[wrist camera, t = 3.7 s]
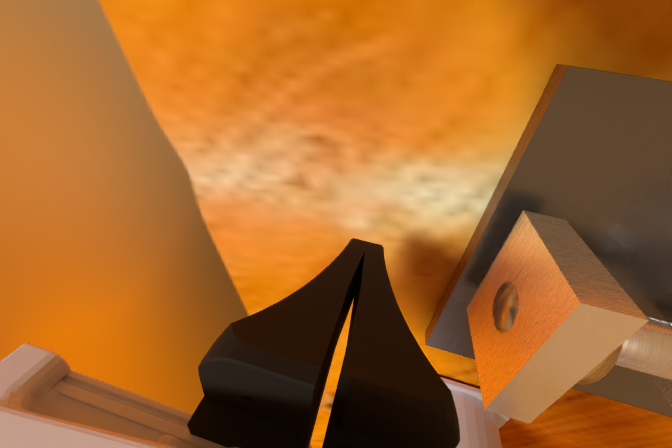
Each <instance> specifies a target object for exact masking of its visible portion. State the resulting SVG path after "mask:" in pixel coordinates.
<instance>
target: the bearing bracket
mask: <svg viewBox="0 0 672 448" xmlns="http://www.w3.org/2000/svg"><path fill="white" fill-rule="evenodd" d="M523 210H524V211H528V212H533V213H538V214H542V215H547V216H551V217H556V218H560V219H565V220H566V221H567V222H568V223H569V224H570V225H571V227H572V228H573V229H574V230H575V231H576V233H577V234H578V235H579V236H580V238H581V239H582V240H583V241H584V242H585V244H586V245H587V246H588V247H589V248H590V250H591V251H592V252H593V253H594V254H595V256H596V257H597V258H598V259H599V260H600V262H601V263H602V264H603V265H604V267H605V268H606V269H607V270H608V271H609V273H610V274H611V275H612V276H613V277H614V279H615V280H616V281H617V282H618V283H619V285H620V286H621V287H622V288H623V290H624V291H625V292H626V293H627V294H628V296H629V297H630V298H631V299H632V300H633V302H634V303H635V304H636V305H637V306H638V308H639V309H640V310H641V311H642V313H643V314H644V315H645V316H648V317H652V318H656V319H660V320H664V321H668V322H671V323H672V82H671V81H664V80H657V79H651V78H644V77H638V76H631V75H625V74H618V73H612V72H605V71H599V70H592V69H586V68H579V67H573V66H566V65H560V64H557V65H556V67H555V69H554V71H553V73H552V75H551V77H550V80H549V82H548V84H547V86H546V88H545V90H544V92H543V94H542V96H541V98H540V100H539V102H538V104H537V106H536V108H535V110H534V112H533V114H532V116H531V118H530V120H529V122H528V124H527V126H526V128H525V130H524V132H523V134H522V137H521V139H520V141H519V143H518V145H517V147H516V149H515V151H514V153H513V155H512V157H511V159H510V161H509V163H508V165H507V167H506V169H505V171H504V173H503V175H502V177H501V179H500V181H499V183H498V185H497V187H496V189H495V191H494V193H493V196H492V198H491V200H490V202H489V204H488V206H487V208H486V210H485V212H484V214H483V216H482V218H481V220H480V222H479V224H478V226H477V228H476V230H475V232H474V234H473V236H472V238H471V240H470V242H469V244H468V246H467V248H466V250H465V252H464V255H463V257H462V259H461V261H460V263H459V265H458V267H457V269H456V271H455V273H454V275H453V277H452V279H451V281H450V283H449V285H448V287H447V289H446V291H445V293H444V295H443V297H442V299H441V301H440V303H439V305H438V307H437V309H436V311H435V314H434V316H433V318H432V320H431V322H430V324H429V326H428V328H427V330H426V332H425V338H426V345H428V346H431V347H435V348H438V349H441V350H445V351H448V352H452V353H455V354H458V355H462V356H465V357H469V358H472V359H475V354H474V348H473V343H472V337H471V331H470V326H469V320H468V314H467V307H468V305H469V303H470V302H471V300H472V298H473V296H474V295H475V293H476V291H477V289H478V288H479V286H480V284H481V283H482V281H483V279H484V277H485V276H486V274H487V272H488V270H489V269H490V267H491V265H492V264H493V262H494V260H495V258H496V257H497V255H498V253H499V251H500V250H501V248H502V246H503V245H504V243H505V241H506V239H507V238H508V236H509V234H510V232H511V231H512V229H513V227H514V226H515V224H516V222H517V220H518V219H519V217H520V215H521V213H522V212H523ZM571 388H574V389H578V390H581V391H585V392H588V393H591V394H595V395H598V396H602V397H605V398H608V399H612V400H615V401H619V402H622V403H625V404H629V405H632V406H636V407H639V408H642V409H646V410H649V411H653V412H656V413H659V414H663V415H666V416H670V417H672V380H668V379H665V378H661V377H657V376H654V375H650V374H647V373H643V372H639V371H636V370H632V369H629V368H625V367H621V366H618V365H614V366H613V368H612V369H611V370H610V372H609V373H608V374H606V375H605V376H604V377H603V378H601V379H600V380H598V381H596V382H594V383H590V384H577V383H576V384H575V385H574V386H573V387H571Z"/></svg>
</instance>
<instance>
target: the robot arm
mask: <svg viewBox="0 0 672 448" xmlns="http://www.w3.org/2000/svg"><path fill="white" fill-rule="evenodd" d="M353 299H354V301H353ZM352 301H353V308H352V314H351V321H350V328H349V335H348V341H347V347H346V352H345V356H344V361H343V365H342V369H341V373H340V377H339V381H338V385H337V389H336V393H335V397H334V402H333V406H332V410H331V414H330V418H329V422H328V426H327V430H326V434H325V438H324V443H323V447H322V448H502V444H501V439H500V434H499V429H500V428H501V427H502V426H503V425H504V424H505V423H506V422H507V421H508V420H509V419H510V418H509V417H506V416H502V415H499V414H496V413H493V412H490V411H487V410H484V406H483V400H482V394H481V389H478V388H475V387H472V386H469V385H465V384H462V383H459V382H456V381H452V380H449V379H446V378H442V377H440V376H439V375H438V373H437V372H436V371H435V369H434V368H433V367H432V365H431V364H430V362H429V361H428V359H427V358H426V356H425V355H424V353H423V352H422V350H421V348H420V347H419V345H418V343H417V341H416V340H415V338H414V336H413V335H412V333H411V331H410V329H409V327H408V325H407V323H406V321H405V320H404V317H403V315H402V313H401V311H400V309H399V306H398V304H397V301H396V299H395V296H394V293H393V290H392V287H391V284H390V281H389V277H388V274H387V270H386V265H385V260H384V248H383V247H382V245H378V244H374V243H370V242H366V241H362V240H358V239H354V238H353V239H351V240H350V242H349V243H348V245H347V246H346V247H345V249H344V250H343V251H342V252H341V253H340V254H339V255H338V256H337V258H336V259H335V260H334V261H333V262H332V263H331V264H330V265H329V266H328V267H326V268H325V269H324V270H323V271H322V272H321V273H320V274H319V275H317V276H316V277H315V278H314V279H312V280H311V281H310V282H309V283H307V284H306V285H304V286H303V287H302V288H300V289H299V290H297V291H296V292H294V293H292V294H291V295H289V296H288V297H286V298H284V299H283V300H281V301H279V302H277V303H275V304H273V305H271V306H269V307H267V308H266V309H264V310H262V311H260V312H257V313H255V314H253V315H250V316H248V317H246V318H243V319H241V320H238V321H236V322H233V323H231V324H230V325H229V326H228V327H227V328H226V329H225V330H224V332H223V333H222V334H221V335H220V336H219V337H218V338H217V340H216V341H215V342H214V344H213V345H212V346H211V348H210V350H209V351H208V352H207V354H206V355H205V357H204V358H203V360H202V361H201V363H200V365H199V367H198V370H199V377H200V381H201V384H202V388H203V392H204V395H205V396H204V397H203V399H202V401H201V402H200V404H199V405H198V407H197V409H196V410H195V412H194V414H190V413H187V412H184V411H182V410H179V409H176V408H173V407H171V406H168V405H165V404H162V403H160V402H157V401H154V400H151V399H149V398H146V397H143V396H141V395H137V394H135V393H132V392H130V391H127V390H124V389H121V388H119V387H116V386H113V385H111V384H108V383H105V382H102V381H100V380H97V379H94V378H91V377H88V376H86V375H83V374H80V373H77V372H75V371H72V370H70V366H69V365H68V363H67V362H66V360H65V359H63V358H62V357H61V356H60V355H58V354H56V353H54V352H52V351H49V350H46V349H43V348H40V347H38V346H35V345H32V344H29V343H25V344H23V345H22V346H20V347H19V348H18V349H16V350H15V351H14V352H12V353H11V354H10V355H9V356H7V357H6V358H4V359H3V360H2V361H0V448H309V444H310V441H311V437H312V433H313V429H314V425H315V422H316V418H317V414H318V410H319V407H320V403H321V399H322V395H323V392H324V388H325V384H326V381H327V377H328V373H329V369H330V366H331V362H332V358H333V355H334V351H335V348H336V345H337V342H338V339H339V336H340V333H341V331H342V328H343V325H344V323H345V320H346V317H347V315H348V312H349V309H350V307H351V304H352Z"/></svg>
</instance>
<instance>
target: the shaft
mask: <svg viewBox="0 0 672 448" xmlns="http://www.w3.org/2000/svg"><path fill="white" fill-rule="evenodd" d="M467 314H468V320H469V326H470V331H471V337H472V343H473V348H474V354H475V360H476V366H477V371H478V377H479V383H480V389H481V394H482V400H483V406H484V410H487V411H490V412H493V413H496V414H499V415H502V416H506V417H509V418H512V419H515V420H518V421H521V422H525V423H528V424H530V423H531V422H532V421H533V420H534V419H535V418H537V417H538V416H539V415H540V414H541V413H542V412H543V411H545V410H546V409H547V408H548V407H549V406H550V405H552V404H553V403H554V402H555V401H556V400H557V399H559V398H560V397H561V396H562V395H563V394H564V393H566V392H567V391H568V390H569V389H570V388H571V387H573V386H574V385H575V384H576V383H577V384H590V383H594V382H596V381H598V380H600V379H601V378H603V377H604V376H605V375H606V374H608V373H609V372H610V370H611V369H612V368H613V366H614V365H618V366H621V367H625V368H629V369H632V370H636V371H639V372H643V373H647V374H650V375H654V376H657V377H661V378H665V379H668V380H672V323H671V322H668V321H664V320H660V319H656V318H652V317H648V316H645V315H644V314H643V313H642V311H641V310H640V309H639V308H638V306H637V305H636V304H635V303H634V302H633V300H632V299H631V298H630V297H629V296H628V294H627V293H626V292H625V291H624V290H623V288H622V287H621V286H620V285H619V283H618V282H617V281H616V280H615V279H614V277H613V276H612V275H611V274H610V273H609V271H608V270H607V269H606V268H605V267H604V265H603V264H602V263H601V262H600V260H599V259H598V258H597V257H596V256H595V254H594V253H593V252H592V251H591V250H590V248H589V247H588V246H587V245H586V244H585V242H584V241H583V240H582V239H581V238H580V236H579V235H578V234H577V233H576V231H575V230H574V229H573V228H572V227H571V225H570V224H569V223H568V222H567V221H566V220H565V219H560V218H556V217H551V216H547V215H542V214H538V213H533V212H528V211H524V210H523V212H522V213H521V215H520V217H519V219H518V220H517V222H516V224H515V226H514V227H513V229H512V231H511V232H510V234H509V236H508V238H507V239H506V241H505V243H504V245H503V246H502V248H501V250H500V251H499V253H498V255H497V257H496V258H495V260H494V262H493V264H492V265H491V267H490V269H489V270H488V272H487V274H486V276H485V277H484V279H483V281H482V283H481V284H480V286H479V288H478V289H477V291H476V293H475V295H474V296H473V298H472V300H471V302H470V303H469V305H468V307H467Z"/></svg>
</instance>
